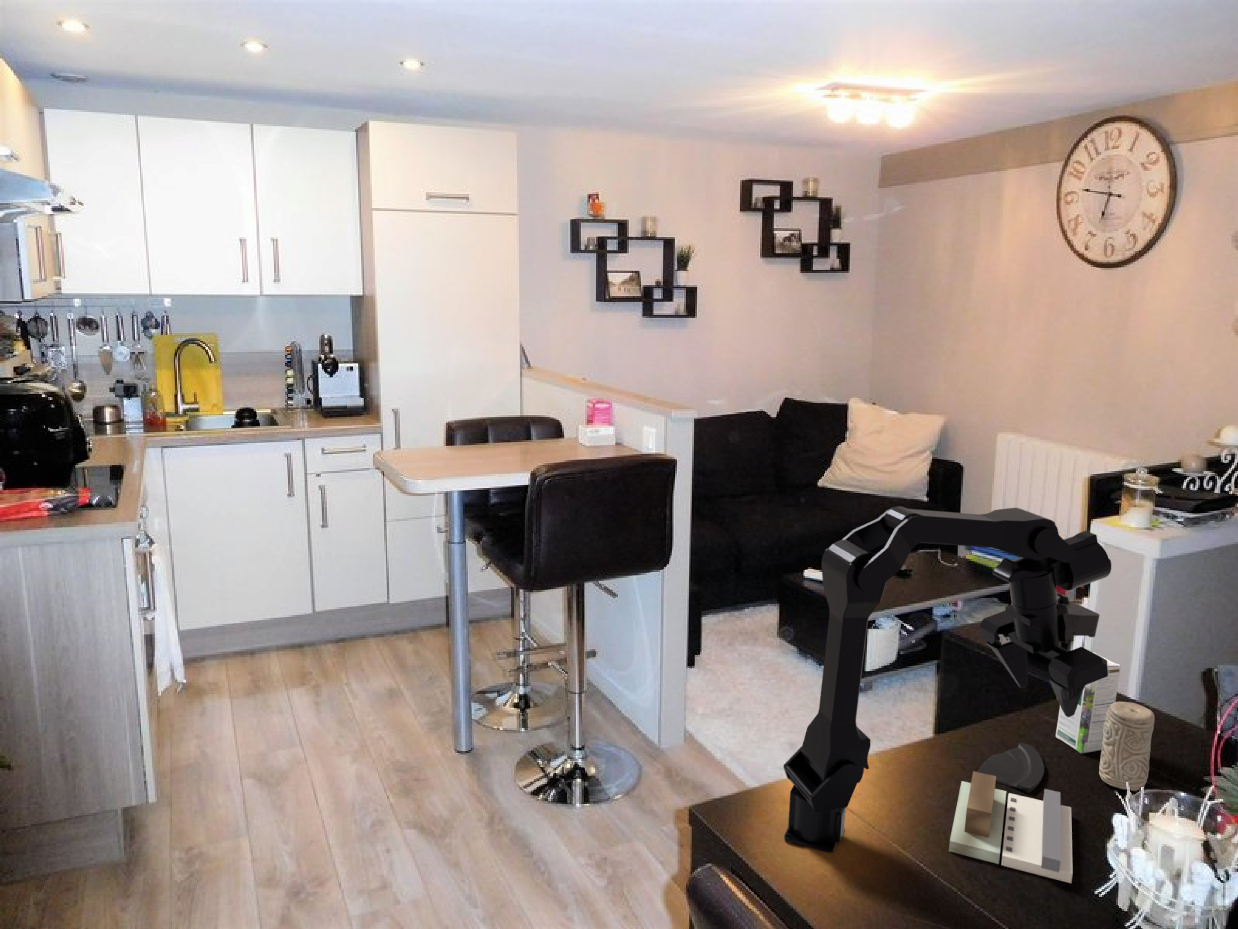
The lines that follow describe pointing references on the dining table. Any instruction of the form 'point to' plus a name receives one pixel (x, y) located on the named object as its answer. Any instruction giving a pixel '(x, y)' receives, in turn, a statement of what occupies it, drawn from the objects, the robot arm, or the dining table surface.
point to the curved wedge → (1016, 767)
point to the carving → (1126, 745)
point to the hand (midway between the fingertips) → (1045, 700)
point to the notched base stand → (1038, 836)
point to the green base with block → (979, 819)
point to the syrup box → (1090, 713)
